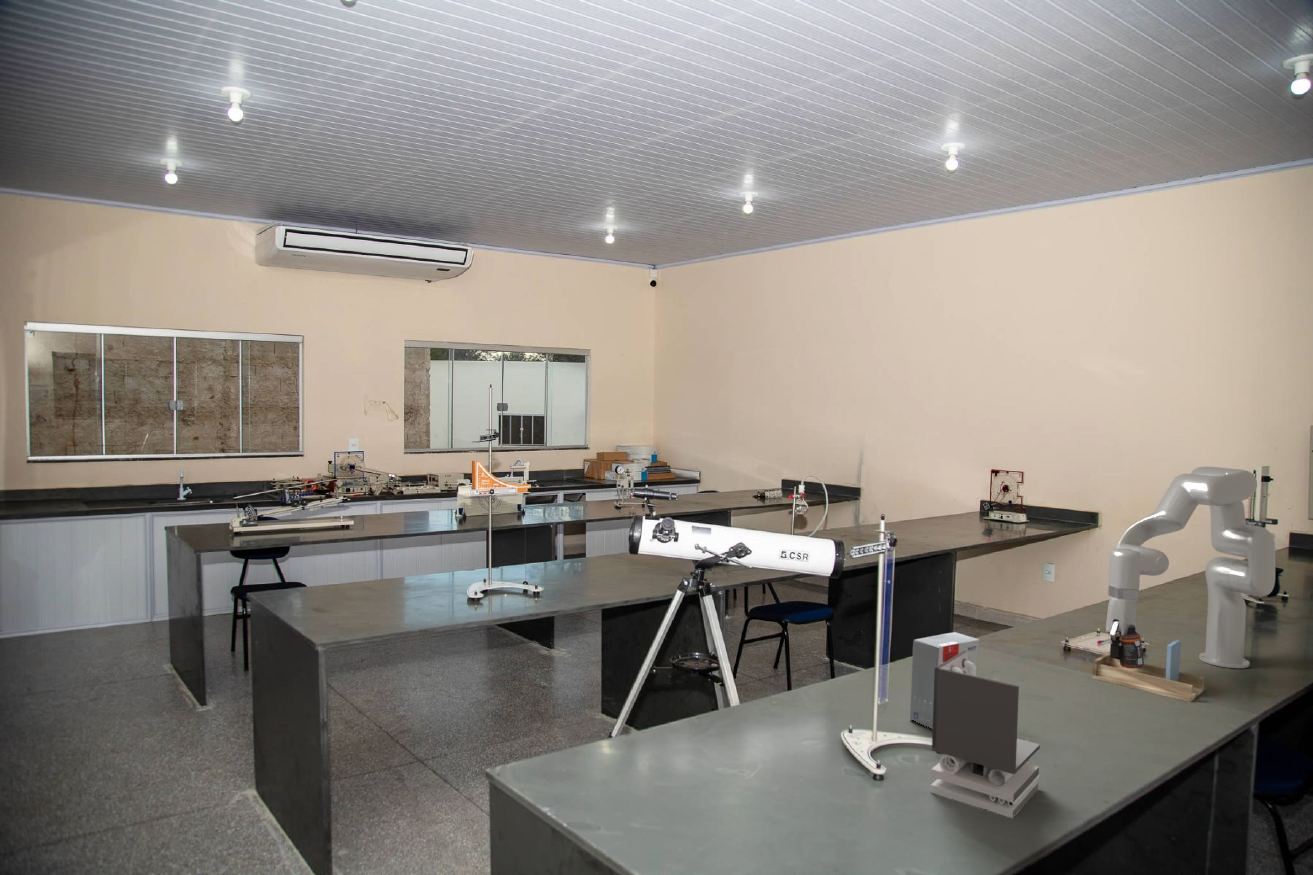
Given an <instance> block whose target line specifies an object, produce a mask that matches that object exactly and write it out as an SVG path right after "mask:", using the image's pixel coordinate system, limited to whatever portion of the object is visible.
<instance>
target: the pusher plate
mask: <svg viewBox="0 0 1313 875" xmlns="http://www.w3.org/2000/svg"><path fill="white" fill-rule="evenodd" d="M1180 661H1181V640H1180V639H1175V640H1173V641H1172V642H1170V643H1169V644H1167V645H1166V662H1165V663H1166V664H1165V666H1166V667H1165V668H1166V679H1168V680H1172V681H1177V682H1179V671H1180Z"/></svg>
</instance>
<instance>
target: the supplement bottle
mask: <svg viewBox="0 0 1313 875" xmlns="http://www.w3.org/2000/svg"><path fill="white" fill-rule="evenodd" d="M1117 634H1121V632H1117ZM1117 637H1118V638H1119V640H1120V637H1119V636H1117ZM1141 638H1142V637H1141V635H1140V634H1139V633H1138V632H1137V631H1136V625H1135V626H1134V625H1132V626H1130V627H1129V628H1128V632H1127V634H1126V635H1124V637H1123V644H1122V646H1124V650H1123V660H1120V665H1121V666H1122V667H1125V668H1141V667H1143V666H1144V664H1145V661H1144V653H1143V647H1142V646H1143V645H1142V639H1141Z"/></svg>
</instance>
